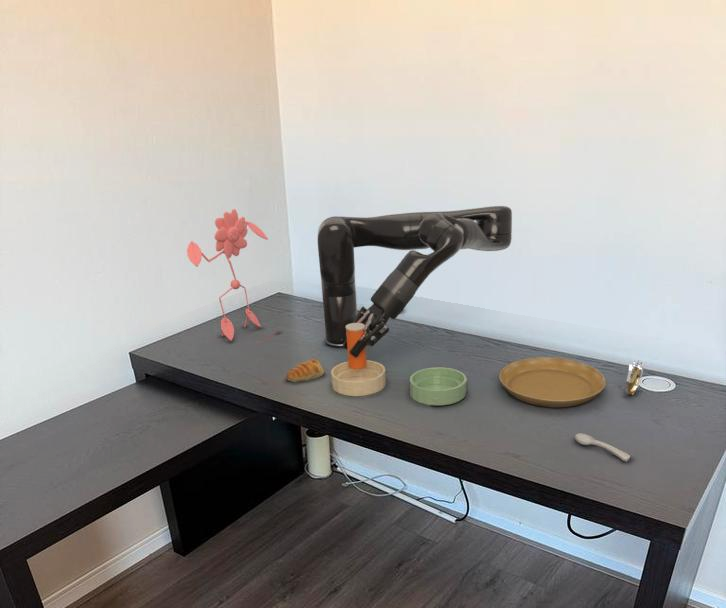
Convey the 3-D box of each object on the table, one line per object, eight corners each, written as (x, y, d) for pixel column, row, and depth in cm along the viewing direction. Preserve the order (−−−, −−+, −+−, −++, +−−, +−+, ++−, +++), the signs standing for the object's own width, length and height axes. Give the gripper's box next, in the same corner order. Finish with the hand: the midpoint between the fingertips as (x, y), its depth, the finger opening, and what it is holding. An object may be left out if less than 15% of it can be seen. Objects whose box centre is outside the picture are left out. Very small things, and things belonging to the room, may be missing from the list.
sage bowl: (418, 380, 169) (418, 364, 167) (471, 386, 165) (471, 370, 163) (403, 403, 159) (402, 387, 157) (458, 410, 155) (459, 393, 153)
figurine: (198, 344, 198) (173, 218, 179) (262, 318, 214) (246, 200, 195) (233, 355, 189) (211, 224, 170) (297, 327, 205) (284, 204, 186)
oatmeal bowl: (343, 373, 176) (342, 357, 173) (392, 378, 171) (392, 362, 169) (324, 394, 165) (322, 378, 163) (375, 400, 161) (374, 384, 159)
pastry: (296, 387, 170) (294, 372, 168) (281, 379, 174) (279, 365, 172) (326, 376, 174) (325, 362, 172) (311, 368, 179) (310, 355, 177)
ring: (631, 401, 154) (637, 368, 150) (617, 397, 156) (623, 365, 152) (644, 390, 158) (650, 358, 154) (631, 387, 160) (637, 355, 156)
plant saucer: (622, 385, 161) (624, 372, 159) (571, 423, 147) (573, 409, 145) (532, 361, 176) (533, 349, 174) (478, 394, 161) (479, 381, 159)
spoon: (579, 436, 142) (581, 428, 140) (631, 460, 134) (633, 452, 133) (570, 442, 140) (572, 433, 139) (623, 466, 133) (625, 458, 132)
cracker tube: (352, 361, 168) (349, 322, 162) (369, 363, 166) (367, 323, 161) (345, 368, 164) (342, 328, 159) (363, 370, 163) (361, 330, 157)
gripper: (417, 312, 156) (370, 370, 159) (393, 294, 167) (350, 349, 170) (395, 292, 151) (347, 353, 155) (372, 276, 163) (328, 333, 166)
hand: (349, 351), depth 163 cm, fingers closed on cracker tube, 4 cm apart
